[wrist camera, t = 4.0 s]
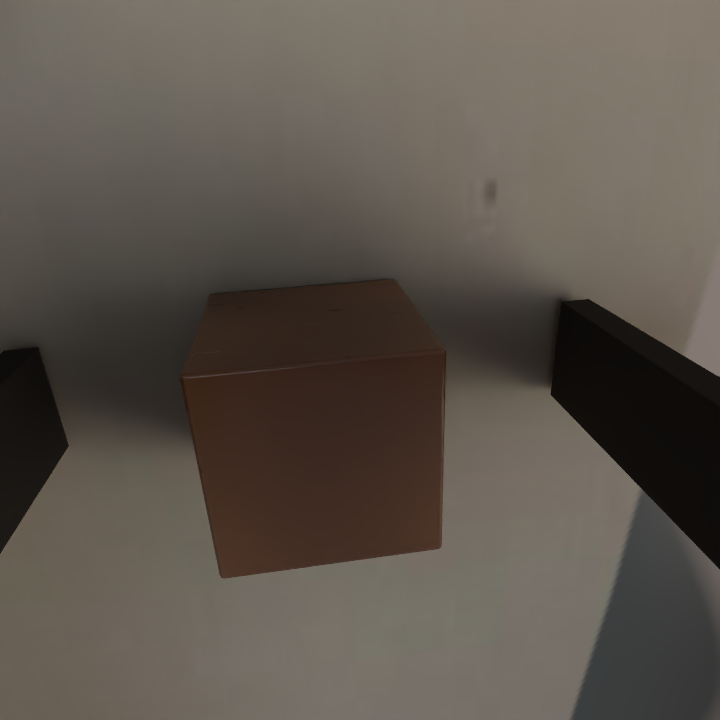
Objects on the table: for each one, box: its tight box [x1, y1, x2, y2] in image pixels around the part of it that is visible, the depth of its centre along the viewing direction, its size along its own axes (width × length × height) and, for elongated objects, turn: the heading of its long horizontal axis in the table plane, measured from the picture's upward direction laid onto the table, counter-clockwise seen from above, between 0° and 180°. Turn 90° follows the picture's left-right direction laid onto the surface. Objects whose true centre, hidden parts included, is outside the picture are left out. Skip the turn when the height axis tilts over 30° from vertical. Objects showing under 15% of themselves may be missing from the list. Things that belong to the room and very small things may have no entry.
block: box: [180, 279, 446, 578], centre depth 12 cm, size 4×4×4 cm
